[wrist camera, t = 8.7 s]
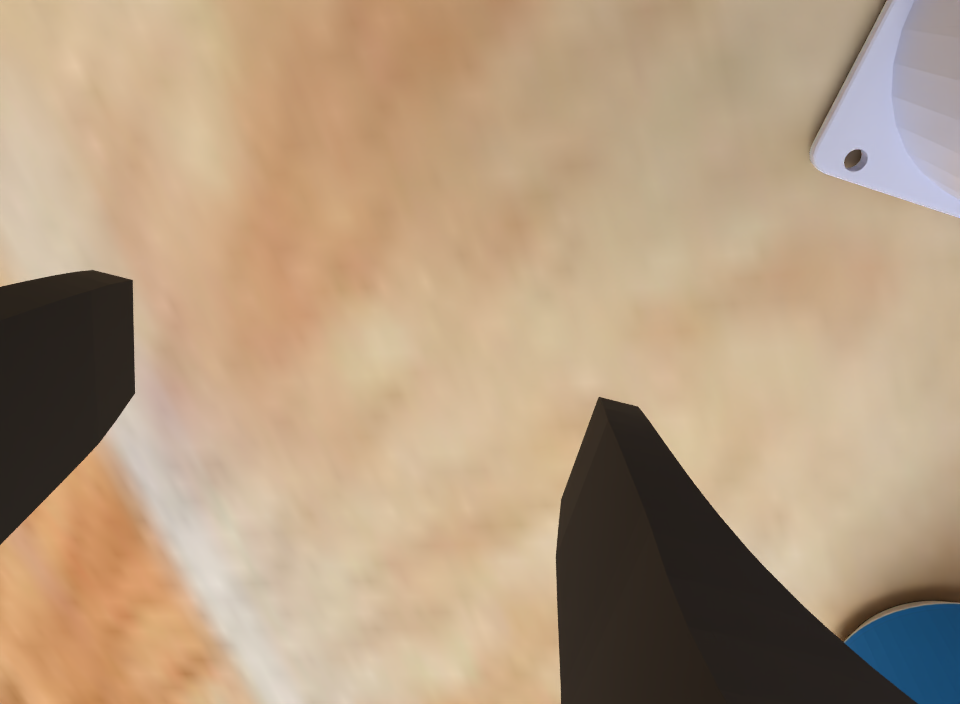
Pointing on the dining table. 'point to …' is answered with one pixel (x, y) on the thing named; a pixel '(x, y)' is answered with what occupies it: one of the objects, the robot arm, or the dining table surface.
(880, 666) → the beverage can
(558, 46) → the dining table surface
